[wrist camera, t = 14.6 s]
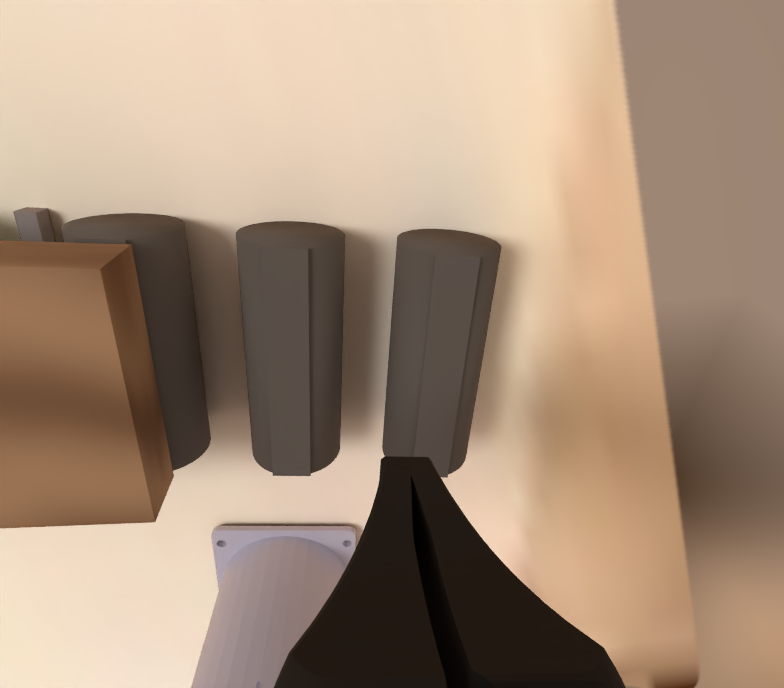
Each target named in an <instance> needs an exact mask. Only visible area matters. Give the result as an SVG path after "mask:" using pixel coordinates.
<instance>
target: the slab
mask: <svg viewBox="0 0 784 688" xmlns="http://www.w3.org/2000/svg"><path fill="white" fill-rule="evenodd" d="M173 476H174V475H173V470H172V464H171V459H170V453H169V448H168V442H167V437H166V431H165V426H164V420H163V415H162V409H161V404H160V398H159V393H158V387H157V382H156V376H155V371H154V365H153V360H152V354H151V349H150V343H149V338H148V333H147V327H146V322H145V316H144V311H143V305H142V300H141V294H140V289H139V283H138V278H137V272H136V267H135V261H134V256H133V250H132V245H131V244H102V243H69V242H37V241H4V240H0V528H20V527H45V526H70V525H95V524H121V523H146V522H155V521H156V518H157V516H158V513H159V511H160V509H161V506H162V504H163V501H164V499H165V496H166V494H167V491H168V489H169V486H170V484H171V481H172V479H173Z"/></svg>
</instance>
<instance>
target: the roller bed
mask: <svg viewBox="0 0 784 688" xmlns="http://www.w3.org/2000/svg"><path fill="white" fill-rule="evenodd" d="M13 212H14V216H15V220H16V223H17V227H18V230H19V234H20V238H21V241H37V242H56V241H55V237H54V233H53V229H52V225H51V221H50V217H49V213H48V209H47V208H28V207H26V208H23V209H20V210H17V211H13ZM61 232H62V236H63V240H64V242H69V243H102V244H131V245H132V250H133V256H134V261H135V267H136V272H137V278H138V283H139V289H140V294H141V300H142V305H143V311H144V316H145V322H146V327H147V333H148V338H149V343H150V349H151V354H152V360H153V365H154V371H155V376H156V382H157V387H158V393H159V398H160V404H161V409H162V415H163V420H164V426H165V431H166V437H167V442H168V448H169V453H170V459H171V464H172V470H176V469H179V468H181V467H184V466H186V465H188V464H190V463H192V462H193V461H195V460H196V459H198V458H199V457H200V456H201V455H202V454H203V453H204V452H205V451H206V450H207V448H208V446H209V444H210V440H211V436H210V428H209V420H208V411H207V403H206V395H205V387H204V379H203V371H202V363H201V354H200V346H199V338H198V330H197V322H196V314H195V306H194V297H193V289H192V281H191V273H190V265H189V257H188V249H187V240H186V232H185V224H184V222H183V221H182V220H180V219H177V218H174V217H170V216H164V215H156V214H139V213H128V214H108V215H99V216H91V217H86V218H81V219H77V220H73V221H70V222H68V223H66V224H64V225H63V226H62V227H61ZM236 241H237V254H238V267H239V280H240V293H241V306H242V319H243V332H244V345H245V358H246V371H247V384H248V397H249V410H250V423H251V437H252V450H253V456H254V458H255V460H256V462H257V463H258V464H259V465H260V466H261V467H263V468H264V469H266V470H268V471H270V472H273V476H311V473H313V472H316V471H319V470H321V469H323V468H325V467H326V466H328V465H329V464H330V463H332V462H333V461H334V459H335V458H336V457H337V455H338V453H339V450H340V427H341V384H342V341H343V298H344V255H345V234H344V233H343V232H342V231H340V230H338V229H336V228H333V227H330V226H326V225H322V224H316V223H307V222H292V221H281V222H265V223H258V224H253V225H248V226H245V227H243V228H241V229H239V230H238V231H237V232H236ZM500 252H501V246H500V244H499V243H497V242H496V241H494V240H492V239H490V238H487V237H484V236H481V235H477V234H473V233H468V232H462V231H455V230H444V229H419V230H411V231H407V232H404V233H401V234H400V235H398V237H397V249H396V263H395V277H394V291H393V305H392V319H391V333H390V347H389V361H388V375H387V389H386V403H385V417H384V431H383V445H382V448H383V452H384V455H385V456H398V457H429V458H430V459H431V460H432V462H433V465H434V466H435V468H436V470H437V472H438V474H439V476H440V477H448V474H450V473H452V472H454V471H456V470H457V469H459V468H460V467H461V466H462V464H463V463H464V461H465V458H466V453H467V447H468V441H469V435H470V429H471V424H472V418H473V412H474V406H475V400H476V394H477V388H478V382H479V376H480V370H481V364H482V358H483V352H484V346H485V341H486V335H487V329H488V323H489V317H490V311H491V305H492V299H493V293H494V287H495V281H496V275H497V269H498V263H499V258H500Z"/></svg>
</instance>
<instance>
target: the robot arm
mask: <svg viewBox="0 0 784 688" xmlns="http://www.w3.org/2000/svg"><path fill="white" fill-rule="evenodd" d="M220 540H222V541H220ZM346 540H349V541H346ZM212 544H213V551H214V558H215V566H216V573H217V580H218V587H219V592H218V596H217V599H216V602H215V606H214V609H213V613H212V616H211V620H210V623H209V627H208V630H207V634H206V637H205V641H204V644H203V648H202V651H201V655H200V658H199V662H198V665H197V669H196V672H195V676H194V679H193V683H192V686H191V688H625V685H624V683H623V681H622V679H621V677H620V675H619V673H618V671H617V670H616V668H615V666H614V664H613V663H612V661H611V659H610V658H609V656H608V654H607V652H606V651H605V649H604V648H603V647H602V646H601V645H599V644H598V643H596V642H595V641H594V640H592V639H591V638H590V637H588V636H587V635H585V634H584V633H583V632H581V631H580V630H578V629H577V628H576V627H574V626H573V625H571V624H570V623H569V622H567V621H566V620H565V619H564V618H562V617H561V616H560V615H559V614H557V613H556V612H555V611H554V610H553V609H551V608H550V607H549V606H548V605H546V604H545V603H544V602H543V601H542V600H541V599H540V598H539V597H538V596H536V595H535V594H534V593H533V592H532V591H531V590H530V589H529V588H528V587H527V586H526V585H524V584H523V583H522V582H521V581H520V580H519V579H518V578H517V577H516V576H515V575H514V574H513V573H512V572H511V571H510V570H509V569H508V568H507V566H506V565H505V564H504V563H503V562H502V561H501V560H500V559H499V558H498V557H497V556H496V554H495V553H494V552H493V551H492V550H491V549H490V548H489V546H488V545H487V544H486V543H485V541H484V540H483V539H482V538H481V537H480V535H479V534H478V533H477V531H476V530H475V529H474V527H473V526H472V525H471V523H470V522H469V521H468V519H467V518H466V517H465V515H464V514H463V512H462V511H461V509H460V508H459V506H458V505H457V503H456V502H455V500H454V499H453V497H452V496H451V494H450V493H449V491H448V489H447V488H446V486H445V484H444V483H443V481H442V479H441V478H440V476H439V474H438V472H437V470H436V468H435V466H434V465H433V462H432V460H431V459H430V458H429V457H398V456H385V457H384V458H382V459H381V466H380V481H379V485H378V490H377V493H376V497H375V500H374V503H373V507H372V510H371V513H370V516H369V518H368V521H367V523H366V526H365V528H364V531H363V533H362V536H361V538H360V540H359V543H358V545H357V547H356V530H355V529H354V528H353V527H351V526H218V527H216V528H214V530H213V532H212Z"/></svg>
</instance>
